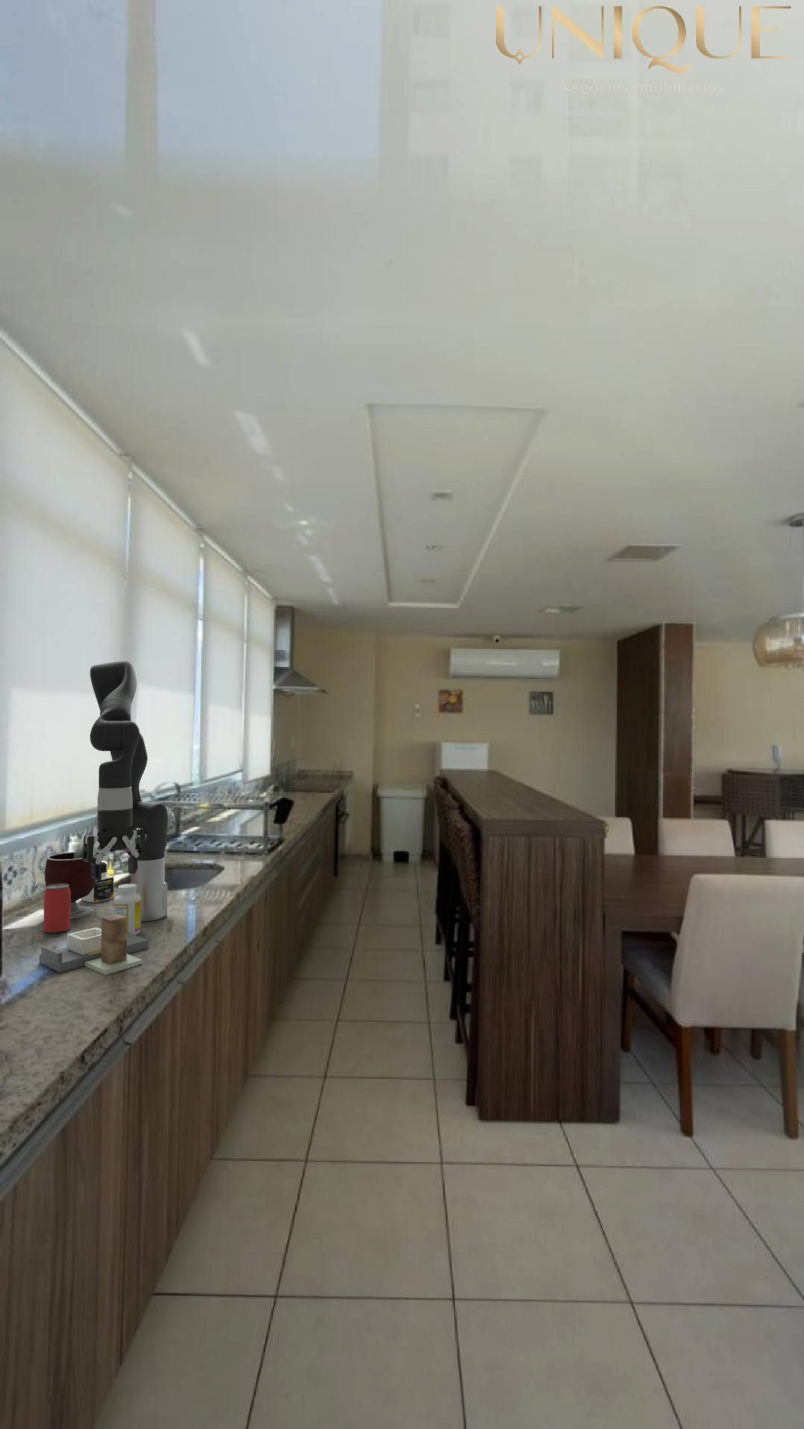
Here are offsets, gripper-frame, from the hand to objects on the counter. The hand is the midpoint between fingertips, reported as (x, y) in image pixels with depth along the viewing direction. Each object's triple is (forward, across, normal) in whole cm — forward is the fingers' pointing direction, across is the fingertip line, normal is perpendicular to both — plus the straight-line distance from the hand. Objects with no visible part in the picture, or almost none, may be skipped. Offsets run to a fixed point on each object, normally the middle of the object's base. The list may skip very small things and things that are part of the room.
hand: (114, 876), depth 161 cm
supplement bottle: (+21, -15, -20) cm, 32 cm away
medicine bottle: (+21, -29, -62) cm, 72 cm away
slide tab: (+18, +1, -10) cm, 21 cm away
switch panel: (+20, -1, -10) cm, 23 cm away
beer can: (+21, -5, -38) cm, 44 cm away
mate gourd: (+21, -16, -52) cm, 58 cm away
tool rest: (+20, 0, 0) cm, 20 cm away
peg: (+19, 0, 0) cm, 19 cm away
